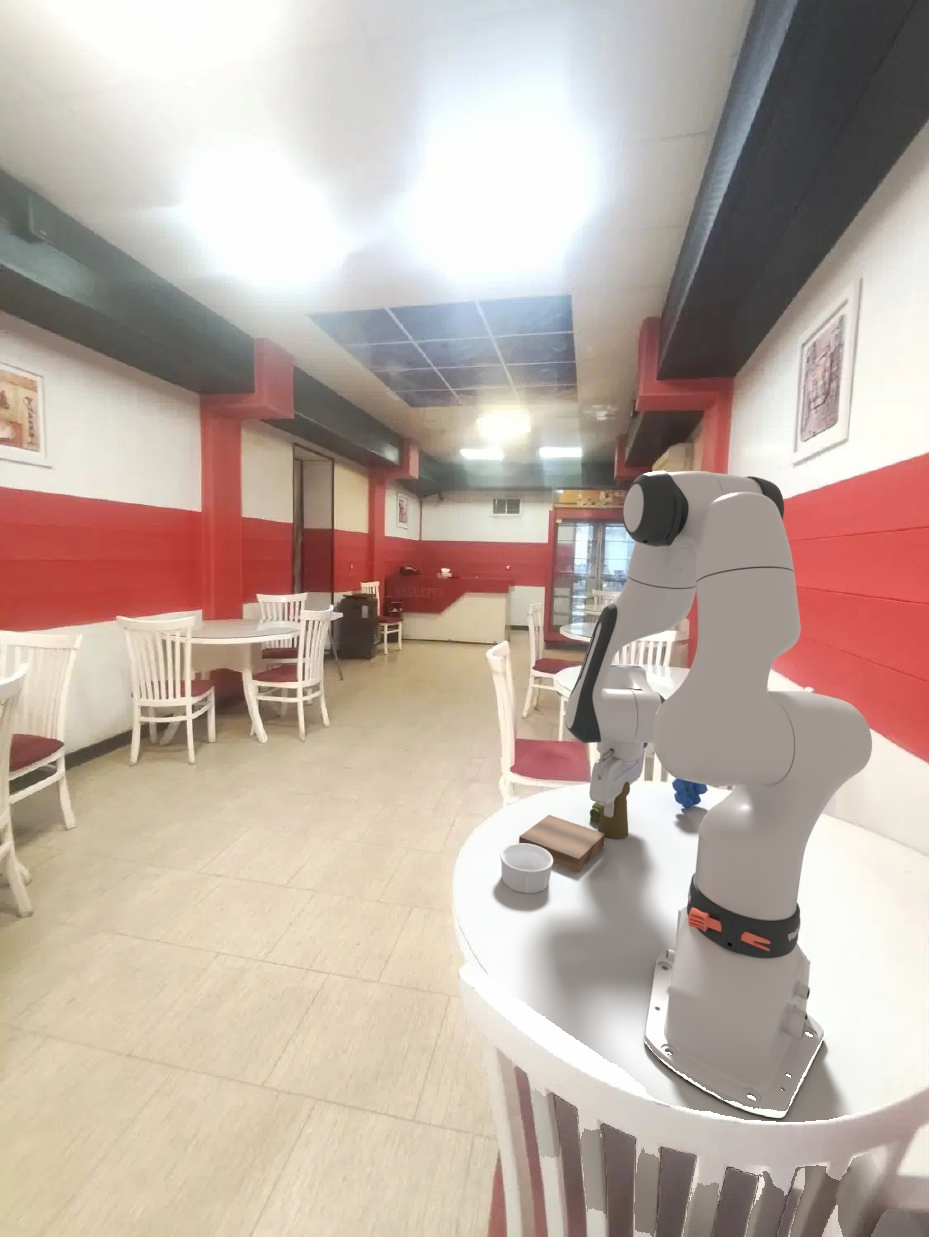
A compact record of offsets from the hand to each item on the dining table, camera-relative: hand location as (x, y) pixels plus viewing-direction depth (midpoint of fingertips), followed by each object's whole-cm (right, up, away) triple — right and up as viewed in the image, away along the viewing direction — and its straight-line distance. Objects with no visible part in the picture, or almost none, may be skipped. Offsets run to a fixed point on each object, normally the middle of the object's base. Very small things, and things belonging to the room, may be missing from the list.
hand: (614, 810), depth 110 cm
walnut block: (-12, -5, -7) cm, 15 cm away
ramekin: (-20, -6, -18) cm, 28 cm away
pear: (0, -4, +7) cm, 9 cm away
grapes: (+21, -5, +13) cm, 25 cm away
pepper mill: (0, -5, 0) cm, 5 cm away
